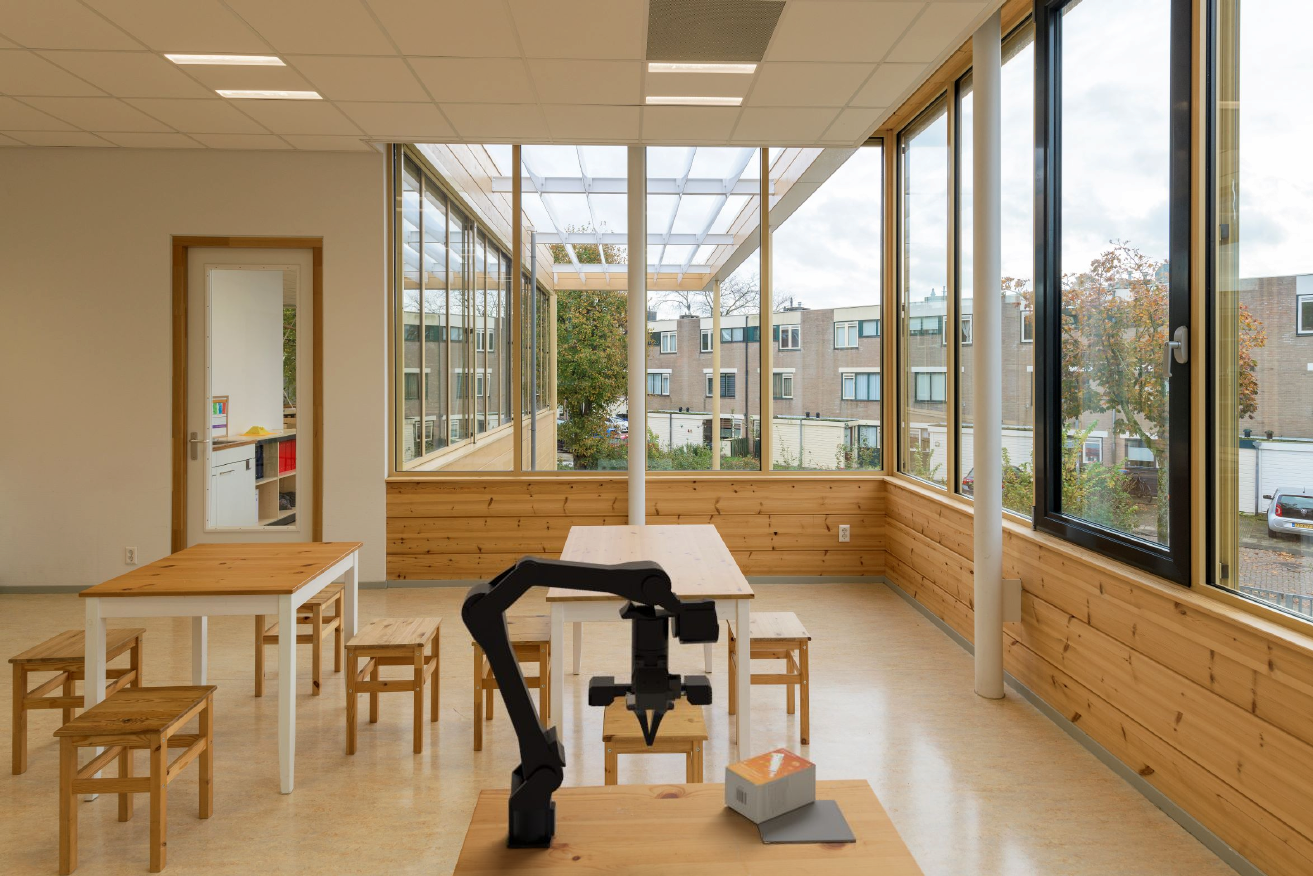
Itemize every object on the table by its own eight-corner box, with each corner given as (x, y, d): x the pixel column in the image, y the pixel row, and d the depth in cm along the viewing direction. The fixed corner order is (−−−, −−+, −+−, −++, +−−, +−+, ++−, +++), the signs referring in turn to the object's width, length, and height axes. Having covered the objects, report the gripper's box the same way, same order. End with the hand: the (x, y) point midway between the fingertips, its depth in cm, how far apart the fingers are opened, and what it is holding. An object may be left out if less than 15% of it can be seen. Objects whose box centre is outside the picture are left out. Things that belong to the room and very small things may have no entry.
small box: (724, 766, 130) (781, 746, 138) (723, 804, 131) (781, 783, 138) (758, 785, 124) (816, 764, 131) (757, 825, 124) (816, 802, 132)
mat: (763, 843, 120) (763, 841, 120) (750, 803, 132) (750, 801, 132) (856, 841, 120) (856, 839, 120) (834, 801, 132) (834, 799, 132)
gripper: (586, 663, 114) (586, 770, 115) (717, 661, 115) (716, 768, 116) (589, 639, 125) (589, 737, 126) (708, 638, 126) (707, 736, 127)
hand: (649, 745), depth 123 cm, fingers closed
